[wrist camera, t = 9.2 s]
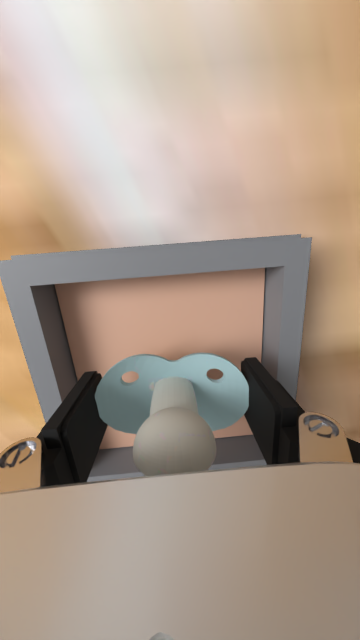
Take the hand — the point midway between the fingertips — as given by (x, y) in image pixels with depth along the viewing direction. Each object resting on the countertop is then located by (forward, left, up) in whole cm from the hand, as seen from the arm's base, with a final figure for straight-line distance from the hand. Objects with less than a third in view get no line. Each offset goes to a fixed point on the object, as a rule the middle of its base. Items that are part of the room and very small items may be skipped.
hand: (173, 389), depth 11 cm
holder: (0, 0, -4) cm, 4 cm away
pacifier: (0, +1, -1) cm, 2 cm away
